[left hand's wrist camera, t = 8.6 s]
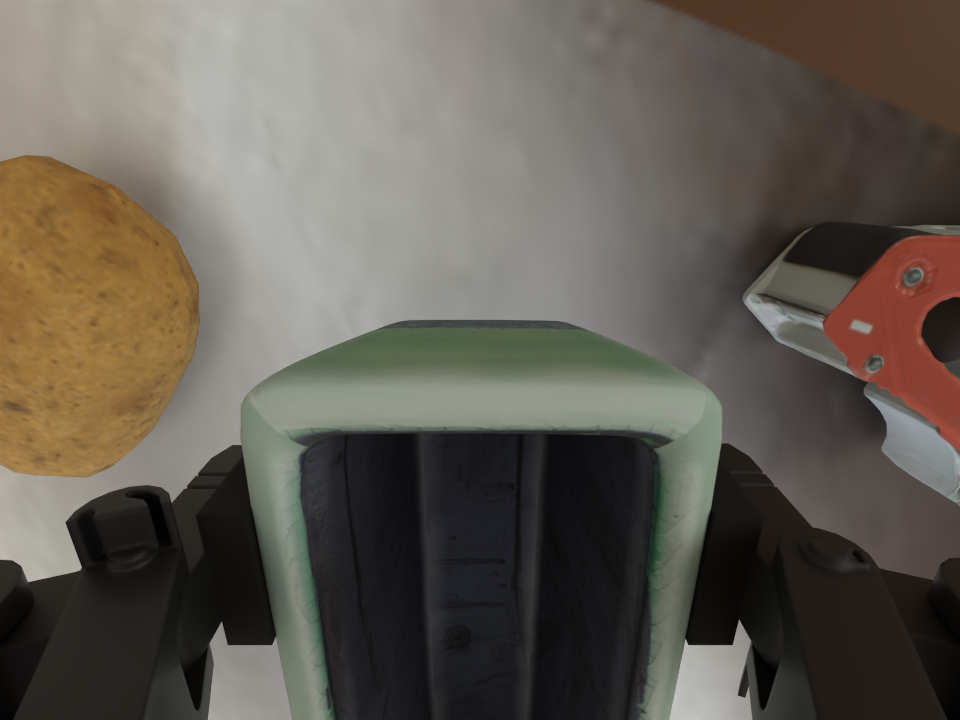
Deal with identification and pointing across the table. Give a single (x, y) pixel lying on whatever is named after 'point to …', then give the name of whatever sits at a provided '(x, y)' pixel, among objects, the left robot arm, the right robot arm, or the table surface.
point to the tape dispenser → (876, 328)
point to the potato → (85, 319)
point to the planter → (481, 522)
